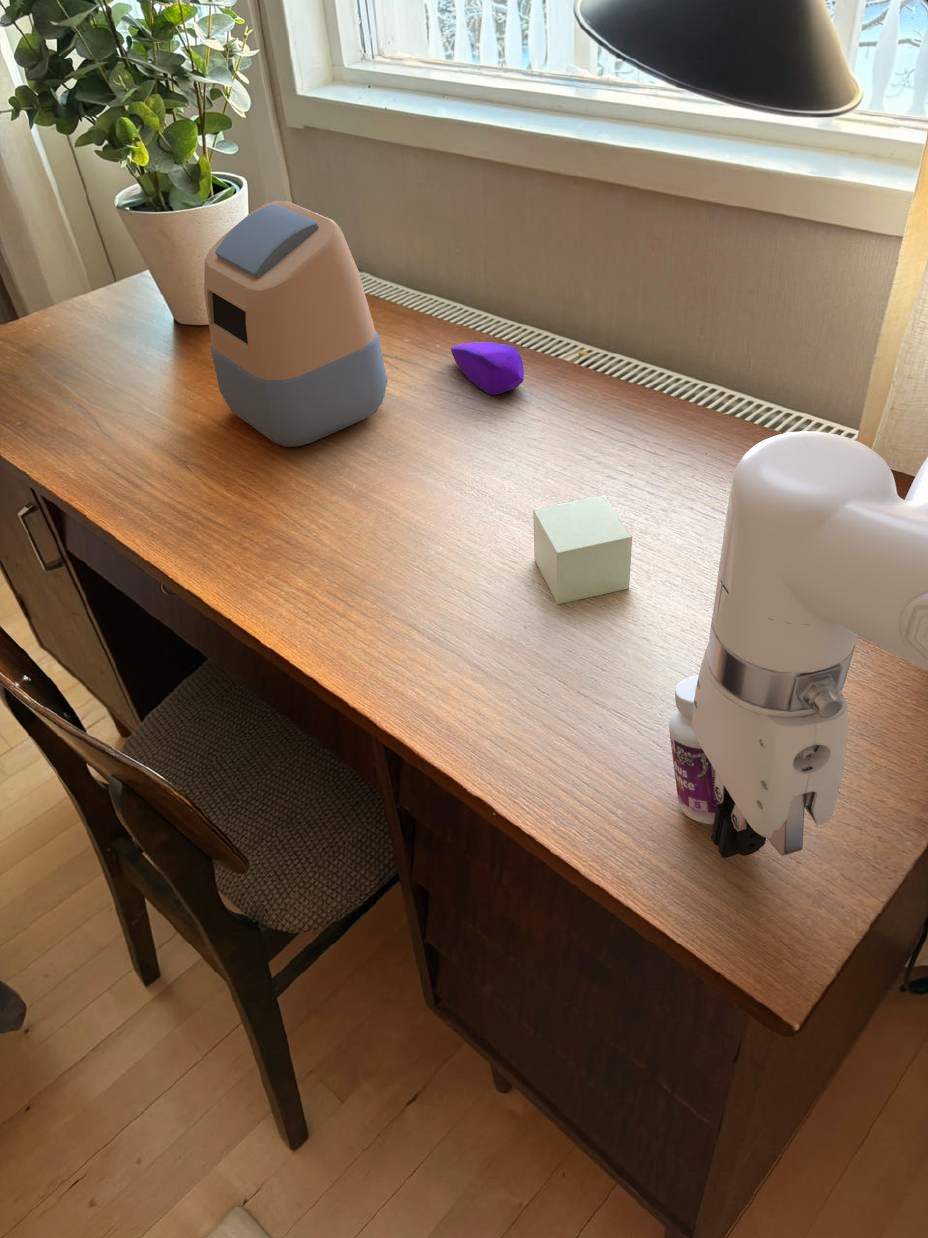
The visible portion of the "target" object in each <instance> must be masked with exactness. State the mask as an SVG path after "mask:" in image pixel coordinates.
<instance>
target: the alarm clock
mask: <svg viewBox="0 0 928 1238" xmlns="http://www.w3.org/2000/svg"><path fill="white" fill-rule="evenodd" d="M203 275H204V285H203V288H204V291H203V294H204V295H203V296H204V301H205V308H206V314H207V321H208V326H209V333H210V339H211V340H210V341H211V344H210V346H209V347H210V352H211V356H212V360H213V361H212V362H213V364H214V371H215V375H216V380H217V385H218V388H219V392H220V395H221V396H222V398H223V400H224V401H225V403H226V404H227V406H228V408H229V409H230V411H231V412H233V413H234V414H235V415H236V416H237V417H239V418H240V419H241V420H243V421H244V422H245V423H247V424H248V425H250V426H251V427H252V428H253V429H255V430H256V431H257V432H259V433H261V434H262V435H263V436H265V438H267V439H269V440H270V441H271V442H273V444H277V445H278V446H279V445H280V446H282V447H302V446H306V445H309V444H312V443H314V442H317V441H318V440H321V439H323V438H325V437H329V436H330V435H332V434H335V433H336V432H339V431H342V430H343V429H346V428H348V427H350V426H352V425H355V424H357V423H359V422H361V421H364V420H366V419H367V418H369V417H370V416H371V415H373V414H374V413H376V411H377V410H378V409H379V408H380V406H381V405H382V404H383V401H384V398H385V395H386V389H387V386H388V378H387V377H388V376H387V372H386V368H385V362H384V356H383V351H382V346H381V341H380V337H379V333H378V332H377V331H376V329H375V325H374V321H373V318H372V314H371V310H370V307H369V303H368V300H367V296H366V292H365V289H364V285H363V282H362V278H361V275H360V272H359V269H358V266H357V264H356V262H355V259H354V257H353V255H352V252H351V249H350V248H349V245H348V242H347V239H346V238H345V235H344V233H343V231H342V229H341V227H340V226H339V225H338V223H336V221H335V220H333V219H331V218H329V217H326V216H324V215H321V214H319V213H317V212H314V211H312V210H310V209H308V208H305V207H302V206H301V205H298V204H295V203H293V202H292V201H287V200H274V201H271V202H267V203H265V204H262V205H261V206H259V207H257V208H256V209H254V210H252V211H251V212H249V214H247V215H246V216H245V217H244V218H243V219H242V220H240V221H239V222H238V223H237V224H236V225H234V226H233V227H232V228H231V229H230V230H228V231H227V232H226V233H225V234H223V235H222V236H221V237H220V238H219V239H218V240H217V242H215V243H214V245H212V247H211V248H210V249H209V250H208V252H207V254H206V256H205V259H204V274H203Z"/></svg>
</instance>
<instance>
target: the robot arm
mask: <svg viewBox="0 0 928 1238" xmlns="http://www.w3.org/2000/svg"><path fill="white" fill-rule="evenodd" d="M859 637H861V638H863V639H865V640H867V641H868V642H871V643H872V644H875V645H876V646H878V647H879V648H880V649H883V650H885V651H887V652H888V653H890V654H892V655H894V656H896V657H898V658H899V659H901V660H903V661H905V662H906V663H907V662H908V663H909V664H911V665H914V666H916V667H918V668H920V669H922V670H924V671H928V456H927V457H926V458H925V459H924V461H923V463H922V464H921V466H920V467H919V469H918V471H917V473H916V475H915V477H914V479H913V481H912V483H911V486H910V487H909V489H908V492H907V493H906V496H905V498H904V499H903V498H901V497H900V496H899V494H898V491H897V485H896V480H895V476H894V474H893V471H892V470H891V468H890V466H889V465H888V463H887V461H886V460H885V459H884V458H883V457H882V456H881V455H880V454H879V453H877V452H876V451H875V450H873V449H871V447H869V446H867V445H865V444H863V443H862V442H860V441H858V440H856V439H853V438H851V437H848V436H844V435H840V434H836V433H831V432H825V431H816V430H815V431H813V430H802V431H789V432H784V433H781V434H777V435H774V436H771V437H768V438H766V439H763V440H761V441H760V442H758V443H756V444H755V445H753V447H751V448H750V449H749V450H747V452H746V453H744V454H743V456H742V457H741V459H740V461H739V462H738V463H737V464H736V467H735V469H734V471H733V474H732V479H731V483H730V489H729V495H728V501H727V509H726V515H725V523H724V529H723V537H722V543H721V550H720V557H719V565H718V572H717V580H716V588H715V594H714V602H713V609H712V616H711V622H710V630H709V637H708V643H707V644H706V645H707V646H706V648H705V651H704V654H703V656H702V657H703V658H702V660H701V665H700V667H699V672H698V675H699V676H698V681H697V685H696V690H695V697H694V704H693V715H692V725H693V730H694V733H695V736H696V738H697V740H698V742H699V744H700V746H701V748H702V749H703V751H704V753H705V755H706V756H707V758H708V760H709V761H710V763H711V765H712V766H713V768H714V770H715V781H714V792H715V795H716V798H717V800H718V801H719V802H720V803H721V804H719V805H717V807H716V812H715V818H714V824H712V830H711V835H710V839H711V841H712V843H713V844H714V846H716V847H718V848H717V850H718V853H719V855H720V857H721V858H722V859H726V858H731V857H734V856H737V855H740V856H742V857H746V856H750V855H752V854H755V853H757V852H758V851H759V850H760V849H761V848H763V847H764V846H765V844H766V840H768V841H769V843H770V845H772V847H773V848H774V849H775V850H776V851H777V853H778V854H779V855H780V856H782V857H785V856H787V855H792V854H794V853H799V852H801V851H802V850H803V848H804V847H803V846H804V827H805V810H806V812H807V813H808V814H809V816H810V818H811V820H813V822H814V823H815V825H816V826H820V825H822V824H825V823H828V822H830V820H831V818H832V816H833V813H834V810H835V807H836V804H837V800H838V798H839V797H838V796H839V793H840V788H841V783H842V779H843V773H844V768H845V761H846V755H847V748H848V747H847V746H848V736H849V733H848V732H849V708H848V707H849V706H848V702H847V700H846V697H845V696H844V694H843V689H844V686H845V683H846V680H847V676H848V674H849V670H850V669H849V668H850V666H851V663H852V660H853V655H854V651H855V648H856V645H857V642H858V638H859Z"/></svg>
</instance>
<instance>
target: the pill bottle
mask: <svg viewBox="0 0 928 1238" xmlns="http://www.w3.org/2000/svg"><path fill="white" fill-rule="evenodd" d="M698 676H699V674H696V675H691V676H688V677H686V678H684V679H681V681H679V682H678V683H677V684H676V686H675V687H674V698H675V699H674V700H675V706H676V709H675V710H674V712H673V713H672V714H671V717H670V718H669V719H670V720H669V721H668V722H669V723H668V732H669V740H670V748H671V755H672V765H673V771H674V772H673V773H674V778H675V788H676V794H677V800H678V801H677V802H678V806H679V808H680V810H681V811H682V813H683V814H684V815H685V816H687V817H688V818H689V819H691V820H693V821H695V822H698V823H701V824H706V825H713V824H714V818H715V812H716V807H717V805H719V804H721V803H720V802H719V801H718V800H717V798H716V795H715V792H714V781H715V770H714V768H713V766H712V765H711V763H710V761H709V760H708V758H707V756H706V755H705V753H704V751H703V749H702V748H701V746H700V744H699V742H698V740H697V738H696V736H695V733H694V730H693V725H692V715H693V704H694V697H695V690H696V685H697V681H698Z"/></svg>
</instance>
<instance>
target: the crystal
mask: <svg viewBox="0 0 928 1238" xmlns="http://www.w3.org/2000/svg"><path fill="white" fill-rule="evenodd" d="M450 352H451V355H452V357H453V359H454V361H455V363H456V365H457V367H458V368H459V370H460V371H461V372H462V373H463V374H464V376H465V377H466V378H467V379H468V381H470V382H471V383H472V384H473V385H475V386H476V387H477V388H479V389H481V390H482V391H484V392H486V393H488V394H489V395H492V396H493V395H500V394H502V393H505V392H508V391H509V392H510V391H511V390H513V389H515V388H517V387H519V386H520V385H522V383H524V378H525V368H524V361H523V358H522V356H521V354H520V352H519V350H518V348H516V347H514V346H512V345H510V344H505V343H504V344H503V343H497V342H492V341H491V342H490V341H480V342H479V341H478V342H477V341H476V342H466V343H460V344H457V345H454V346H452V347H451V348H450Z"/></svg>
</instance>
